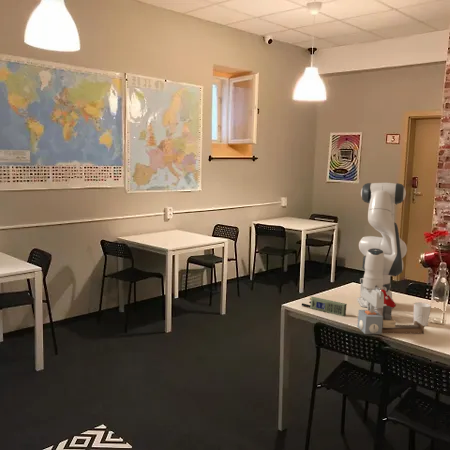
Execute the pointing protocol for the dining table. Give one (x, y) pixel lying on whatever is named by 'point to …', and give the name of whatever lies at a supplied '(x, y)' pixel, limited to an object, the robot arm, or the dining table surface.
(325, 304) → the handheld radio
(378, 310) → the decorative mushroom
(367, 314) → the button
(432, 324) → the dining table surface
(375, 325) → the gauge cabinet
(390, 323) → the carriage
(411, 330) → the rail
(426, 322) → the white cup
